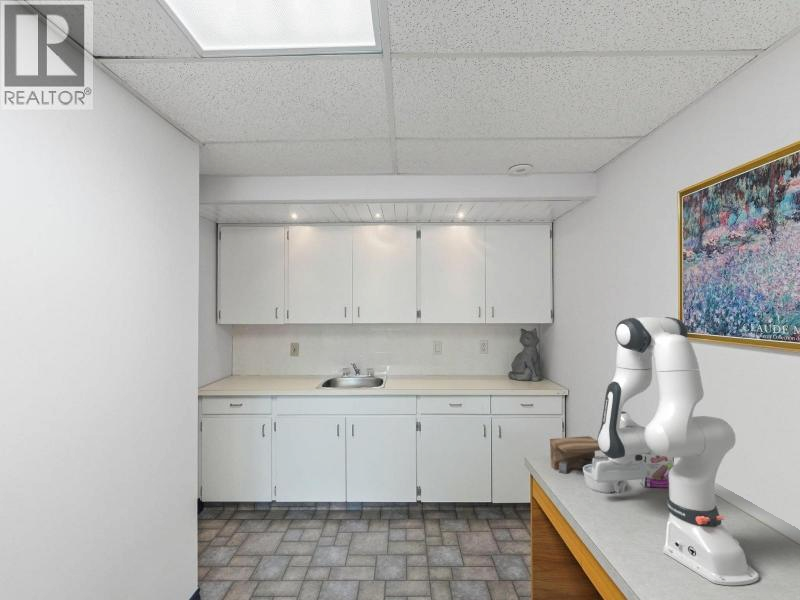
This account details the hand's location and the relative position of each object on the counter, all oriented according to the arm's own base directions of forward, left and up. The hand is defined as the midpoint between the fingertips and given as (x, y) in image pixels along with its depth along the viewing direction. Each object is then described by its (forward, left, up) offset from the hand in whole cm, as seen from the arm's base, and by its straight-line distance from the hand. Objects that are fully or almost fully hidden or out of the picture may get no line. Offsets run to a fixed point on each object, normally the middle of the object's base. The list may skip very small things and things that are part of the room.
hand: (619, 491), depth 152 cm
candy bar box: (+8, -22, -3) cm, 24 cm away
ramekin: (+11, 0, -4) cm, 12 cm away
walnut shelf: (+27, 0, -3) cm, 27 cm away
